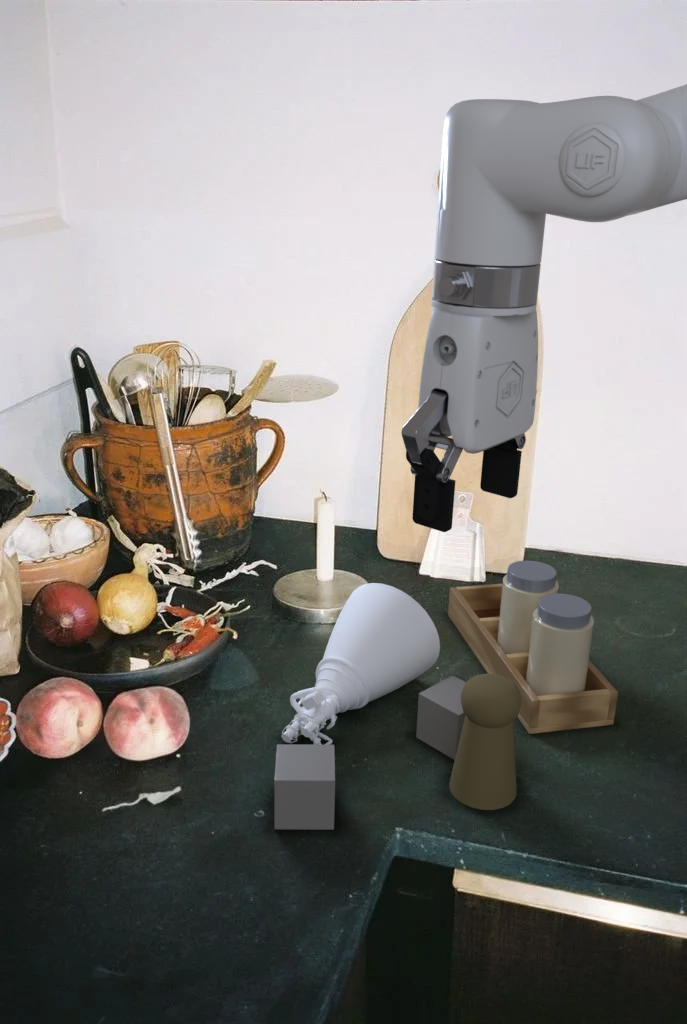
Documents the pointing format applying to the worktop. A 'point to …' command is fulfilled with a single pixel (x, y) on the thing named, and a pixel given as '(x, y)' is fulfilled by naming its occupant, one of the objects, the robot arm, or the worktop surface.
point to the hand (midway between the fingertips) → (466, 509)
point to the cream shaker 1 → (522, 602)
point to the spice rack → (479, 628)
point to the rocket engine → (366, 657)
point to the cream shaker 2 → (560, 645)
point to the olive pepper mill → (487, 743)
